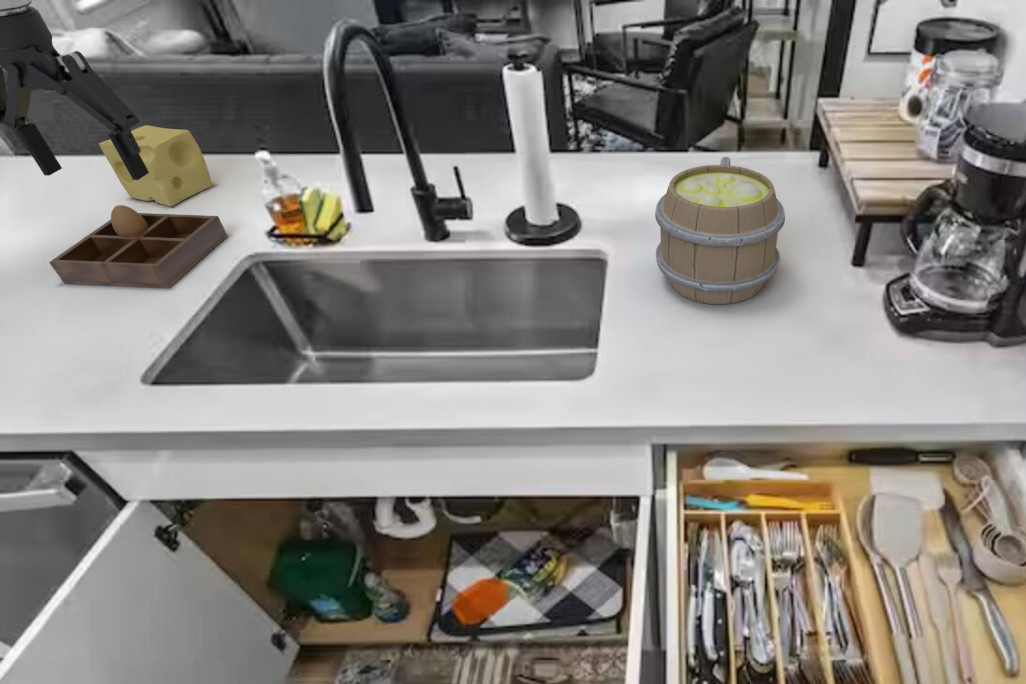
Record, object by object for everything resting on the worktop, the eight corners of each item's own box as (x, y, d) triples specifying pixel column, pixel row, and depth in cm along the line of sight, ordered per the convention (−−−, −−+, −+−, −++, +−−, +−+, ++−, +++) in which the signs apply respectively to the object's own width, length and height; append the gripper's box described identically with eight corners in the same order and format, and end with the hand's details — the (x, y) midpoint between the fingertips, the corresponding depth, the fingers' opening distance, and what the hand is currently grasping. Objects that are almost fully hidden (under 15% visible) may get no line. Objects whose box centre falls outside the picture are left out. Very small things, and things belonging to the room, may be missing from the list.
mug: (776, 236, 113) (787, 145, 103) (776, 317, 96) (790, 217, 86) (667, 229, 115) (667, 139, 104) (648, 308, 97) (646, 209, 87)
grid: (64, 283, 100) (48, 262, 98) (133, 232, 112) (121, 212, 109) (169, 288, 100) (156, 266, 97) (228, 236, 111) (217, 215, 109)
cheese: (172, 208, 119) (140, 150, 112) (126, 198, 121) (92, 141, 114) (218, 184, 126) (191, 129, 119) (173, 176, 128) (145, 121, 121)
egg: (146, 248, 107) (124, 212, 102) (117, 248, 107) (95, 212, 102) (161, 235, 110) (140, 199, 106) (133, 235, 110) (112, 199, 106)
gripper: (113, 6, 88) (192, 168, 103) (-70, -2, 89) (35, 160, 104) (74, 20, 83) (162, 188, 98) (-121, 11, 83) (-3, 180, 98)
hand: (97, 174), depth 101 cm, fingers open, 13 cm apart
